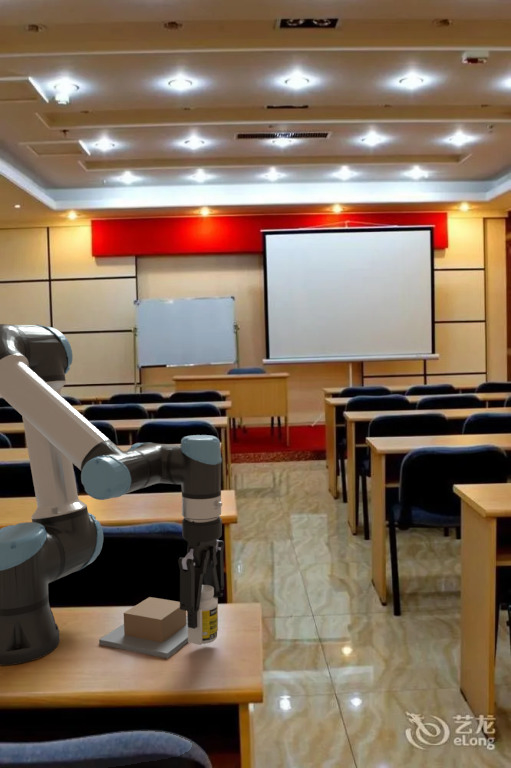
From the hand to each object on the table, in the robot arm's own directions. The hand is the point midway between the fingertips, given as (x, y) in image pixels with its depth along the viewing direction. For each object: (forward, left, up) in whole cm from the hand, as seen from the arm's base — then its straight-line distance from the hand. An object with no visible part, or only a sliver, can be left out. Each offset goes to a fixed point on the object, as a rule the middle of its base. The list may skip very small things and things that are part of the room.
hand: (203, 635), depth 122 cm
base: (-12, +2, -3) cm, 13 cm away
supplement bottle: (0, 0, -1) cm, 1 cm away
